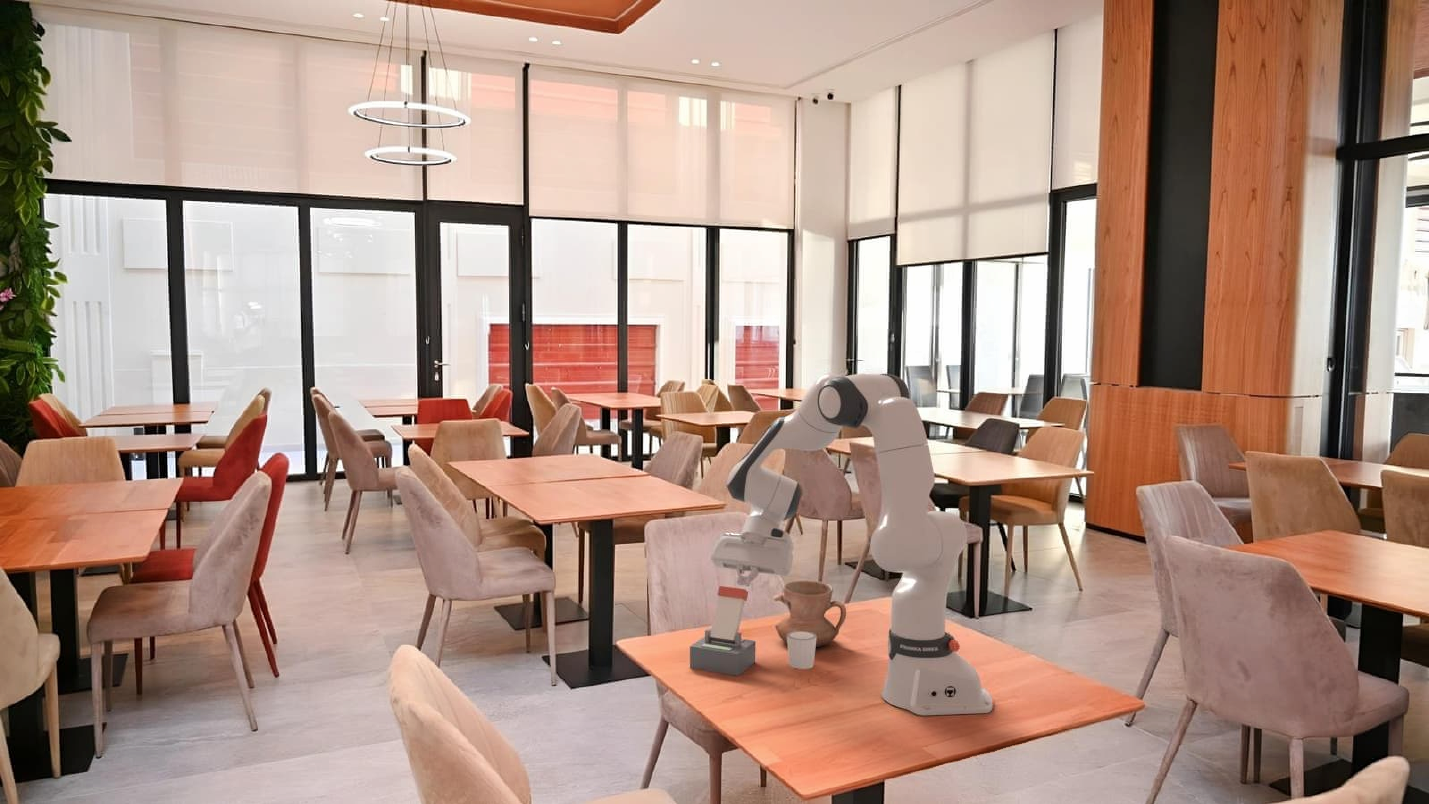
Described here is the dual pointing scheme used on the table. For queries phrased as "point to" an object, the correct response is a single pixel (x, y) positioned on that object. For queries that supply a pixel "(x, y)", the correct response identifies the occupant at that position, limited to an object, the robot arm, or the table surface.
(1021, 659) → the table surface
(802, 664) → the shot glass
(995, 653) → the table surface
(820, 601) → the ceramic jug
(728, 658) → the switch box
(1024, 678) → the table surface
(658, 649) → the table surface
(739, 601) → the lever
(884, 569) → the robot arm
